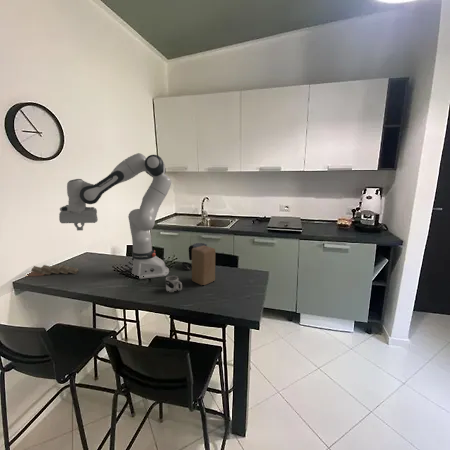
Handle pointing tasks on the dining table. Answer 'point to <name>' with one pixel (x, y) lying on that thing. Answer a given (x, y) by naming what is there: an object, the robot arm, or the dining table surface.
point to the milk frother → (191, 255)
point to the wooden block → (203, 265)
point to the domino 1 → (35, 274)
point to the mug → (173, 284)
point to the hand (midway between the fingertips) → (80, 230)
